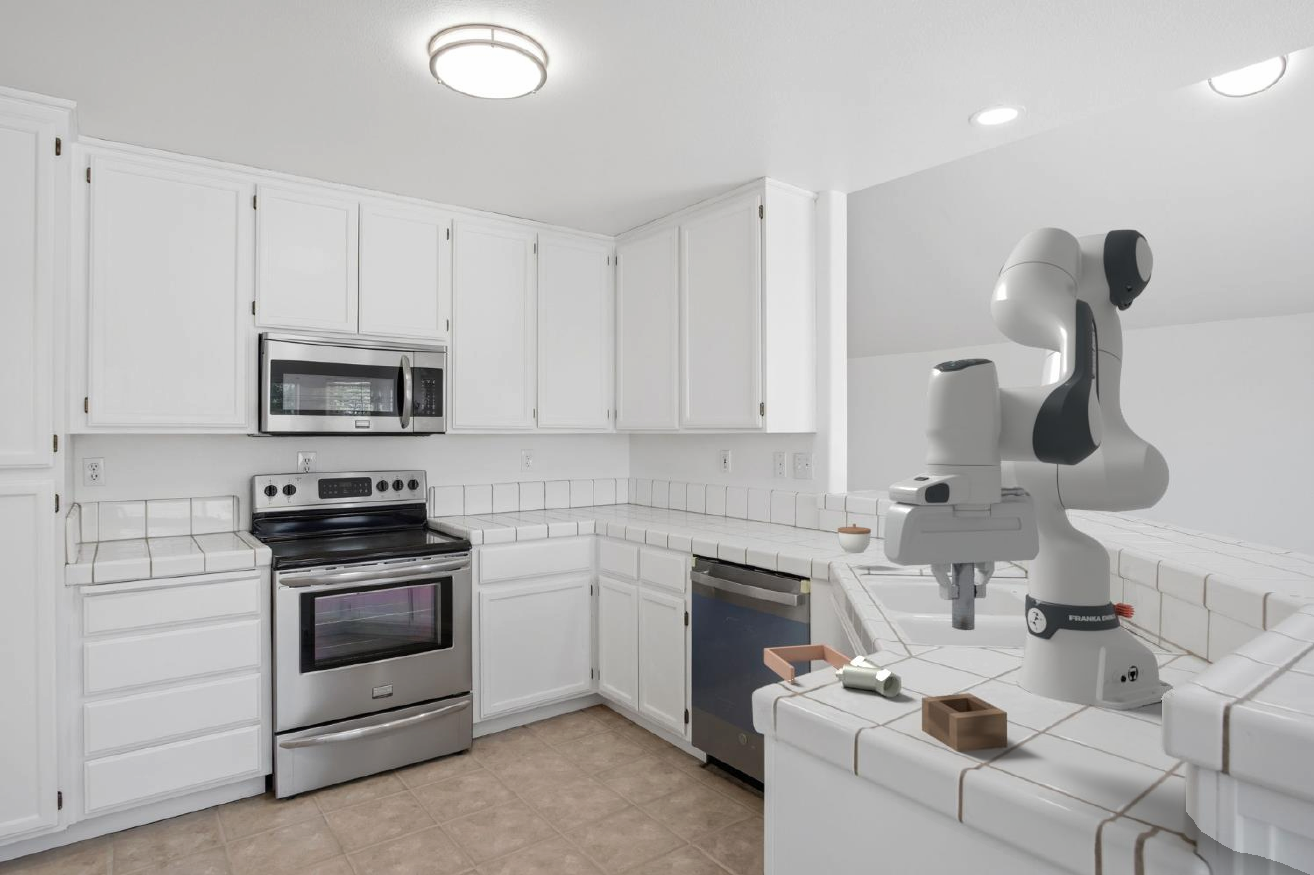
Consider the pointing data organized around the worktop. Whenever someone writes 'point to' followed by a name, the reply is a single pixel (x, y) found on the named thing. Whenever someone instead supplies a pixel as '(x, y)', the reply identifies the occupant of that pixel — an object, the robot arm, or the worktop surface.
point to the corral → (801, 658)
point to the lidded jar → (854, 538)
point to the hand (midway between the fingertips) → (962, 598)
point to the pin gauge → (963, 596)
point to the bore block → (964, 722)
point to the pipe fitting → (869, 677)
